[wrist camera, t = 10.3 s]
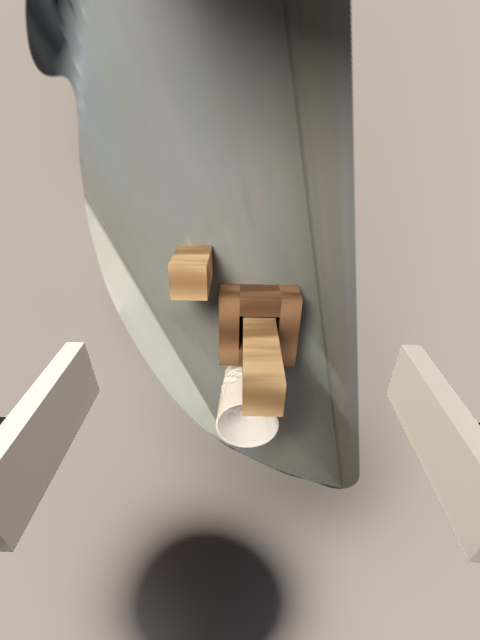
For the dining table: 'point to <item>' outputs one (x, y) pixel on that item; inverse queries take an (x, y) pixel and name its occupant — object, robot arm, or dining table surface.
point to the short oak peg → (191, 272)
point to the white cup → (230, 415)
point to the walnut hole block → (258, 303)
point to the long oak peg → (262, 369)
